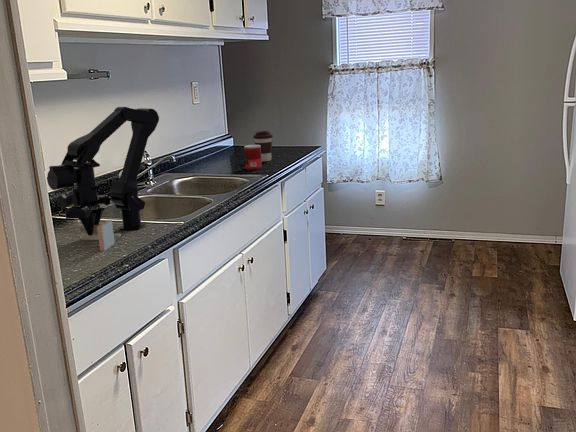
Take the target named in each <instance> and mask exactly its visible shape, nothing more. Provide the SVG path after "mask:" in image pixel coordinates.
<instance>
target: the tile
mask: <svg viewBox="0 0 576 432" xmlns="http://www.w3.org/2000/svg"><path fill="white" fill-rule="evenodd" d="M97 231H98V238H99V240H98V244H99V250H100V251H102V252H103V251H106V250H108V249H109V248H111V247H112V246H113V245H114V244H115V242H116V241H114V234H115V233H114V226H113V220H112V219H109V220H108V219H107V220H105V221H104V222H102V223H101V224H99V226H98V227H97Z"/></svg>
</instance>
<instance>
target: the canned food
mask: <svg viewBox="0 0 576 432" xmlns="http://www.w3.org/2000/svg"><path fill="white" fill-rule="evenodd" d="M243 149H244V150H243V151H244V165H245V169H246V170H250V171H251V170H252V171H253V170H255V171H256V170H260V169H262V165H263V164H262V163H263V162H262V161H261V146H260V145H255V144H248V145H244V147H243Z"/></svg>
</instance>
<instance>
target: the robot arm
mask: <svg viewBox="0 0 576 432" xmlns="http://www.w3.org/2000/svg"><path fill="white" fill-rule="evenodd" d="M159 120H160V115H159V114H158V112H157V110H155V108H145V107H144V108H143V107H142V108H140V107H139V108H131V107H129V106H118V107H116V108H115V109H114V110H113V112H111V113H110V114H109V115H107V117H106V118H105V119H103V120H102V121H101V122H100V123H99V124H97V126H96V127H94V128H93V129H92V130H90V132H88V133H86V134H84V135H83V136H80V137H78V138H76V139H75V140H73V141H71V142H70V143H69V144H68V145H67V147H66V149H67V151H66V153H65V156H64V157H63V160H62V162H61V164H59V165H50V166H48V167H49V171H48V172H47V177H46V181H47V185H48V186H49V188H50V190H53V191H57V190H61V189H67V188H71V187H74V186H75V187H74V188H73V189H72V193H69V194H67V195H66V194H64V193H62V194H60V195H58V196H56V205H57V206H59V208H61V209H62V210H64V209H66V208H67V209H66V210H65V212H64V216H65V219H67V220H74V219H76V220H77V219H78V220H79V221H80V222H81V223H82V226H84V228H85V230H86V232H87V234H88V235H92V234H93V229H94V225H100V221H101V219H102V217H103V213H104V211H105V207H101V204H102V205H104V206H109V205H110V204H111V202H112V204H114V206H115V208H116V209H118V210H119V209H120V211H121V220H122V225H121V226H120V227H119V228H118V229H119V231H121V230H122V231H123V230H124V231H127V230H128V231H129V230H135V231H137V230H140V229H141V228H143V226H145V225H146V223H145V222H142V218H141V210H144V209H145V204H146V203H145V201H144V200H143V199H141V198H140V197H139V196H138V194H139V187H138V182H137V180H138V179H137V178H138V176H139V173H140V168H141V164H142V161H143V158H144V154H145V150H146V146H147V144H148V143H147V142H148V139H149V138H150V136H151V135H152V134H153V132H154V131H156V128H157V126H158V124H159ZM126 122H130V125H131V131H132V136H131V138H130V142H129V145H128V149H127V154H126V157H125V160H124V165H123V168H122V172H121V174H120V177H119V178H118V179H117V180H115V179H113V180H111V186H110V188H109V190H108V193H109V196H108V195H107V194H98V192H97V190H98V189H100V187H99V186H100V185H99V184H96V178H95V177H96V176H95V168H97V167H100V166H101V164H100V163H98V162H97V161H96V160H95V159H94V158H95V156H96V155H97V154H98V153H99V151H100V148H101V146H102V144H103V143H104V142H105V141H106V140H108V138H110V137H111V136H112V135H113V134H114V133H115V132H116V131H117V130H119V128H121V127H122V126H123V125H124V124H125V123H126ZM70 206H71V207H70ZM68 207H69V208H68Z"/></svg>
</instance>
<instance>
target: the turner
mask: <svg viewBox="0 0 576 432" xmlns="http://www.w3.org/2000/svg"><path fill="white" fill-rule="evenodd" d="M99 225H100V224H99ZM99 225H94V229H93V234H92V235H88V234H87V232H86V230H85V228H84V226H83V225H82V226H80V227H79V232H80V237H81V241H99V238H98V231H97V227H98V226H99ZM121 237H122V233H114V241H115V242H116V241H117V240H118V239H119V238H121Z"/></svg>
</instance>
